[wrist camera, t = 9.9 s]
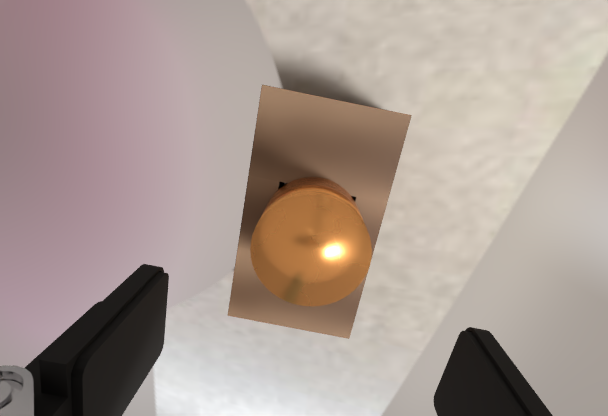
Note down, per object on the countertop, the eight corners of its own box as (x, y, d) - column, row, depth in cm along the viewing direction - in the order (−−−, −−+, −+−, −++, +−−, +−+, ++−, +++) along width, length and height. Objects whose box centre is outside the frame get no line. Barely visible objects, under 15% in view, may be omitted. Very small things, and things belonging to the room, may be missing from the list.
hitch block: (274, 90, 25) (261, 84, 19) (389, 114, 25) (411, 115, 20) (244, 275, 30) (227, 315, 24) (342, 294, 30) (349, 338, 24)
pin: (281, 156, 26) (260, 183, 16) (360, 172, 26) (385, 208, 17) (267, 230, 28) (242, 294, 18) (342, 245, 28) (355, 316, 18)
